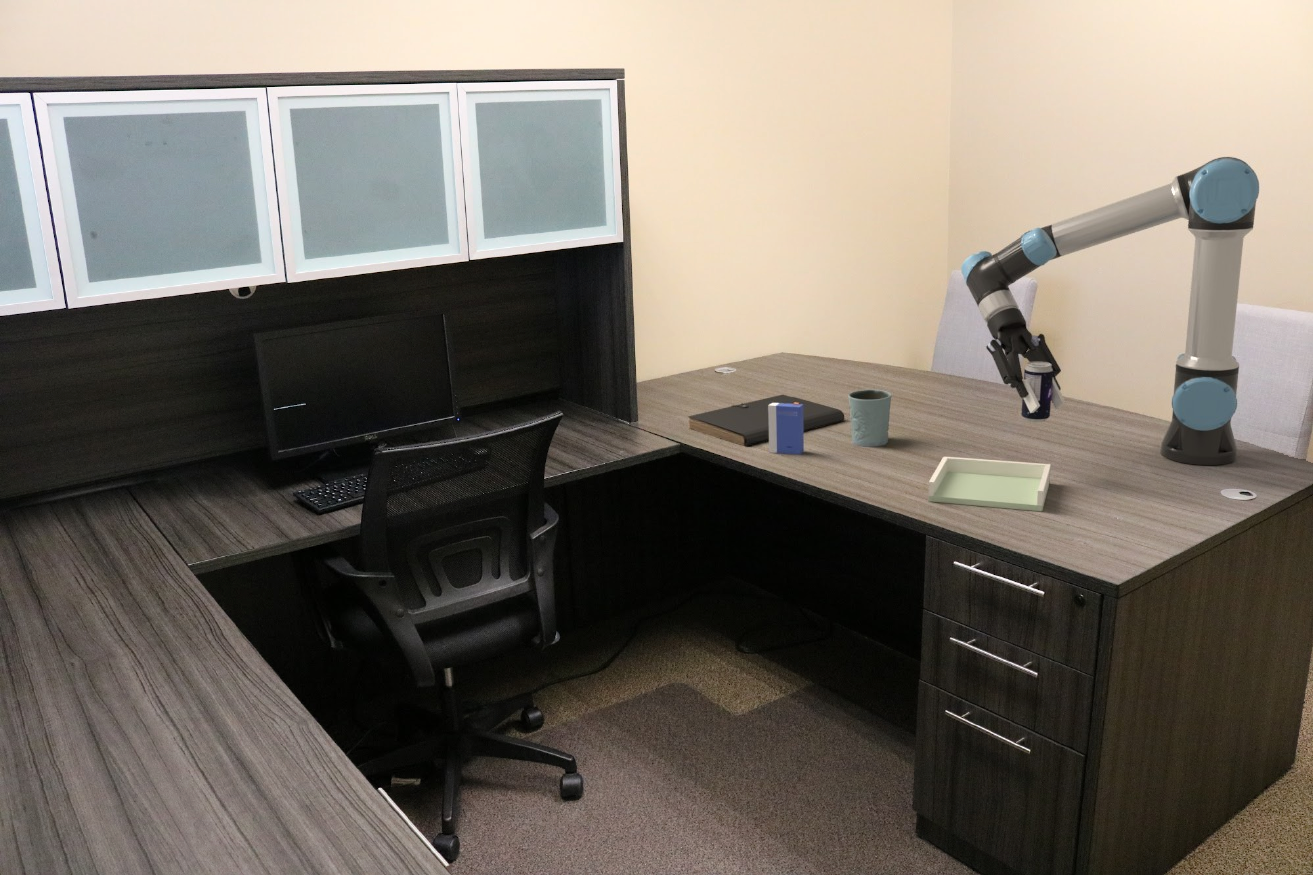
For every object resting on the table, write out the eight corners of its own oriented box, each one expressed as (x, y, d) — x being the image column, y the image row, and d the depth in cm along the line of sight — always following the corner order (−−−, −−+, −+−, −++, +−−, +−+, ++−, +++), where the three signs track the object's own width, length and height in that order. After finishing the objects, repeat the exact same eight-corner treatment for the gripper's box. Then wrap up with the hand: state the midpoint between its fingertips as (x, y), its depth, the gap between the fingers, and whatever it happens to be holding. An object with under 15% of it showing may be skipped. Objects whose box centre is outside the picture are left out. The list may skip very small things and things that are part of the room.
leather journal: (782, 393, 302) (844, 409, 283) (782, 407, 303) (844, 425, 284) (687, 414, 284) (746, 434, 265) (687, 430, 285) (747, 450, 266)
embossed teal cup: (892, 437, 268) (892, 389, 265) (889, 448, 259) (889, 399, 255) (850, 435, 271) (850, 388, 267) (846, 447, 261) (846, 398, 258)
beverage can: (1050, 423, 226) (1055, 367, 223) (1022, 422, 227) (1026, 366, 224) (1047, 416, 232) (1052, 361, 228) (1019, 415, 233) (1023, 360, 229)
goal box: (1049, 483, 229) (1050, 464, 228) (1042, 511, 213) (1043, 491, 212) (943, 474, 238) (943, 456, 237) (928, 501, 222) (928, 481, 221)
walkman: (803, 451, 260) (803, 402, 256) (800, 454, 257) (799, 405, 254) (772, 449, 263) (771, 401, 260) (768, 452, 260) (767, 403, 257)
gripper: (1029, 322, 241) (1074, 411, 231) (958, 330, 235) (1001, 422, 225) (1047, 302, 235) (1094, 392, 225) (974, 310, 229) (1019, 403, 219)
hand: (1047, 407), depth 225 cm, fingers closed on beverage can, 6 cm apart
